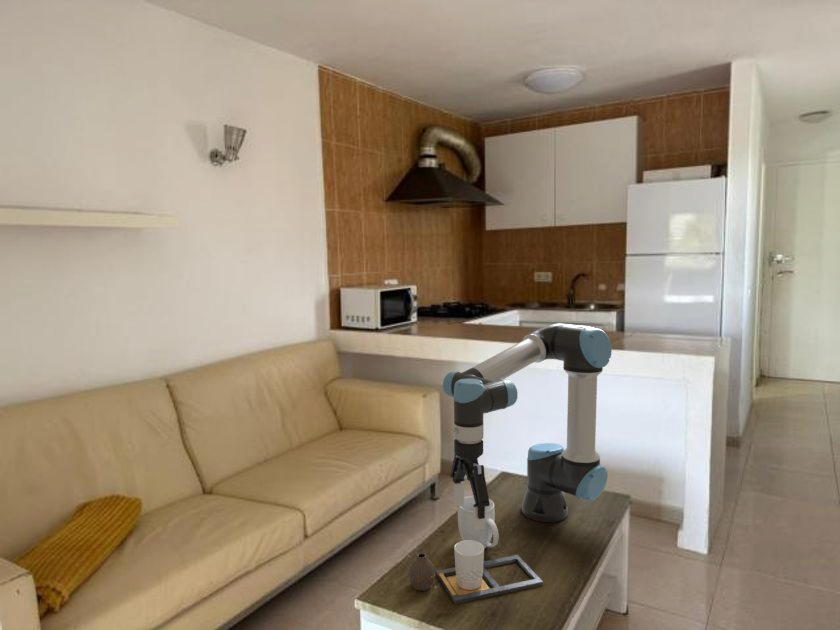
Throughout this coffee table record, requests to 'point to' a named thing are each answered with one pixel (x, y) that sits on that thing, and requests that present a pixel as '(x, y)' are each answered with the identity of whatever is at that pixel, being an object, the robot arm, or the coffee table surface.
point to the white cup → (469, 564)
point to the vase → (421, 572)
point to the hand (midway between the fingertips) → (468, 517)
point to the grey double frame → (484, 589)
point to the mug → (468, 523)
